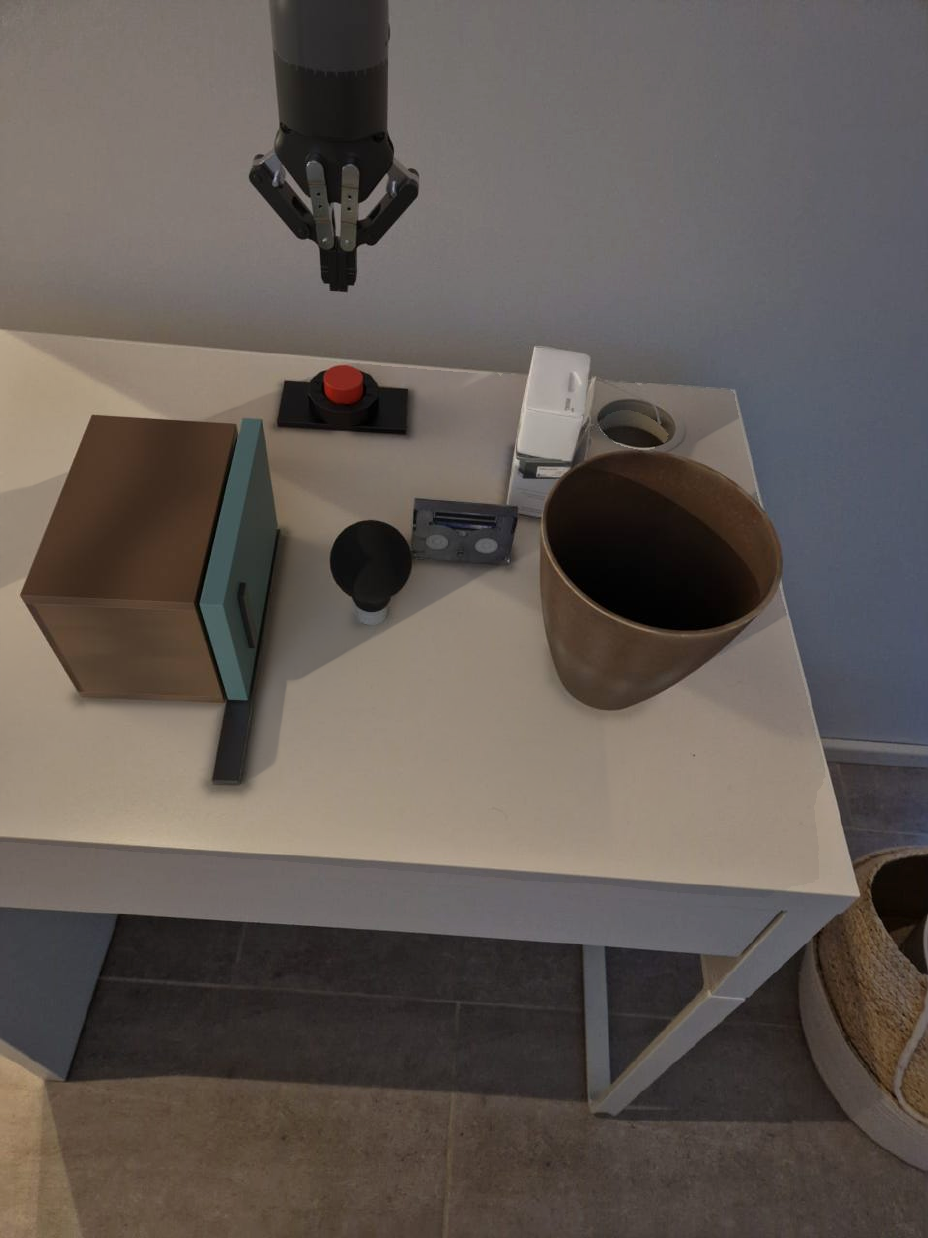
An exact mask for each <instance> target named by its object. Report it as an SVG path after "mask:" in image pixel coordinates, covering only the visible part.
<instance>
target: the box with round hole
mask: <svg viewBox="0 0 928 1238" xmlns="http://www.w3.org/2000/svg"><path fill="white" fill-rule="evenodd" d="M590 381H591V382H590V384H589V385H588V388H587V400H586V405H585V413H584V419H583V423H582V427H581V430H582V429H584V428H585V427H586V429H585V430H584V434H583V436H582V438H581V439H580V442H579V444H578V446H577V447H576V450H575V454H574V457H573V461H572V466H571V468H572V467H574V466H576V465H577V464H579V463H581V462H583V461H585V460H587V456H588V452H589V451H588V450H589V448H590V447H591V445H592V443H593V438H592V437H591V436H590V432H591V429H592V428H593V427H594V426H595V423H594V422H593V423H592V416H591V414H592V411H593V407H594V401H595V395H596V385H597V382H598V381H599V382H602V383H604V384H606V385H609V386H611V387H613V388H616V389H618V390H620V391H622V392H624V393H627V394H629V395H631V396H633V397H636V398H638V399H640V400H641V401H643V402H645V403H647V404H649V405H651V406H652V407H653V408H654V410H655V413H656V419H657V423H658V425H661V424H662V421H661V418H660V414H659V411H658V408H657V407H656V405H655V404H654V403H653V402H651V401H649V400H647V399H645V398H643V397H640V396H638V395H636V394H634V393H632V392H630V391H628V390H626V389H623V388H621V387H619V386H618V385H615V384H613V383H610V382H609V381H606V380H605V379H603V378H600V377H598V376H596V375H592V377H591V380H590ZM588 421H589V422H588Z"/></svg>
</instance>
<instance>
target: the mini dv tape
mask: <svg viewBox="0 0 928 1238" xmlns="http://www.w3.org/2000/svg"><path fill="white" fill-rule="evenodd" d="M412 509H413V510H412V514H413V515H412V527H411V528H412V529H411V544H410V550H411V553H412V560H413V559H414V560H427V561H441V562H453V563H454V562H455V563H465V564H479V565H494V566H505V567H506V566H509V563H510V559H511V554H512V550H513V544H514V541H515V536H516V530H517V526H518V521H519V513H518V506H510V505H507V504H498V503H497V504H495V503H484V502H472V501H471V502H470V501H460V500H459V501H458V500H446V499H434V498H433V499H432V498H420V497H414V499H413V508H412Z"/></svg>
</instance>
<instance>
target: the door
mask: <svg viewBox="0 0 928 1238" xmlns="http://www.w3.org/2000/svg"><path fill="white" fill-rule="evenodd" d="M274 497H275V496H274V489H273V484H272V476H271V471H270V463H269V456H268V449H267V442H266V436H265V429H264V422H263V419H262V418H251V417H250V418H249V417H242V419H241V423H240V428H239V430H238V440H237V444H236V448H235V453H234V457H233V461H232V466H231V470H230V474H229V479H228V483H227V487H226V492H225V496H224V501H223V505H222V509H221V514H220V518H219V522H218V527H217V531H216V535H215V540H214V544H213V548H212V553H211V557H210V561H209V566H208V570H207V574H206V579H205V583H204V587H203V592H202V596H201V600H200V607H201V611H202V614H203V617H204V621H205V624H206V627H207V630H208V634H209V637H210V640H211V644H212V647H213V650H214V654H215V657H216V660H217V664H218V667H219V670H220V674H221V677H222V680H223V684H224V687H225V690H226V698H227V697H228V699H229V700H248V698H249V692H250V686H251V680H252V674H253V669H254V663H255V657H256V651H257V645H258V639H259V633H260V628H261V622H262V616H263V610H264V604H265V598H266V592H267V587H268V581H269V575H270V569H271V563H272V557H273V551H274V546H275V540H276V534H277V529H279V528H278V527H279V525H278V516H277V509H276V504H275V498H274Z"/></svg>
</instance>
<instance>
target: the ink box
mask: <svg viewBox="0 0 928 1238" xmlns="http://www.w3.org/2000/svg"><path fill="white" fill-rule="evenodd" d="M591 362H592V358H591V356H590V354H588V353H584V352H578V351H573V350H572V351H571V350H566V349H559V348H554V347H548V346H542V345H541V346H540V345H534V347H533V351H532V357H531V361H530V366H529V370H528V376H527V380H526V385H525V390H524V394H523V399H522V405H521V411H520V415H519V421H518V426H517V433H516V439H515V444H514V451H513V456H512V463H511V471H510V477H509V484H508V490H507V497H506V505H510V506H518V515H519V514H520V515H523V516H524V515H525V516H530V517H535V518H541V519H542V512H543V507H544V504H545V500H546V498H547V496H548V494H549V492H550V490H551V489H552V487H553V486H554V484H555V483H556V482H557V481H558V479H559V478H560V477H561V476H562V475H564V474H565V473H566V472H567V471H568V470H570V469H571V466H572V461H573V457H574V455H575V452H576V450H577V447H578V446H577V445H578V443H579V442H578V441H579V437H580V435H581V430H582V429H581V427H582V423H583V419H584V413H585V405H586V400H587V390H588V388H589V377H590V376H589V375H590V371H591Z"/></svg>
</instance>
